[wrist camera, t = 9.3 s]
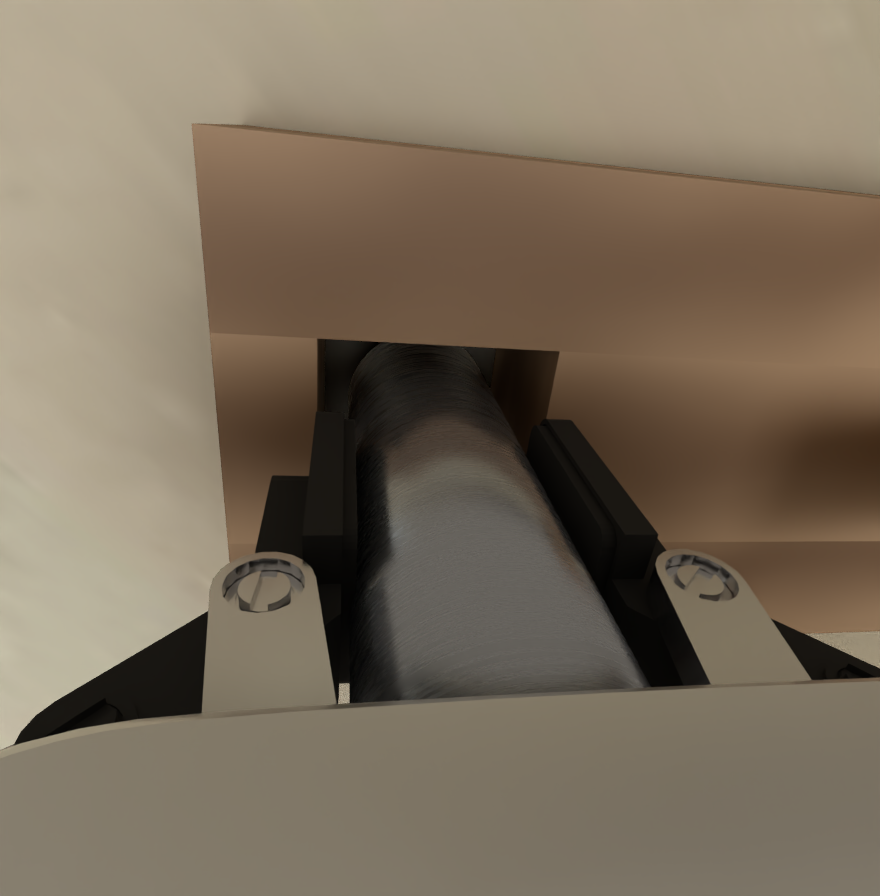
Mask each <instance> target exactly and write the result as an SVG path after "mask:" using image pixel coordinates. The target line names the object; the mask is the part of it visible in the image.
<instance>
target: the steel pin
mask: <svg viewBox="0 0 880 896" xmlns="http://www.w3.org/2000/svg"><path fill="white" fill-rule="evenodd" d="M349 420H355V442H356V481H357V520H358V544H357V571H356V593H355V596H354V599H353V602H352V605H351V611H350V619H349V649H350V703H364V702H382V701H400V700H418V699H436V698H454V697H471V696H489V695H509V694H528V693H548V692H567V691H587V690H607V689H628V688H648V687H651V686H650V684H649V682H648V681H647V679H646V677H645V675H644V673H643V671H642V670H641V668H640V666H639V664H638V662H637V660H636V658H635V657H634V655H633V653H632V651H631V649H630V647H629V645H628V644H627V642H626V640H625V638H624V636H623V634H622V633H621V631H620V629H619V627H618V625H617V623H616V621H615V620H614V618H613V616H612V614H611V612H610V610H609V608H608V607H607V605H606V603H605V601H604V599H603V597H602V596H601V594H600V592H599V590H598V588H597V586H596V584H595V583H594V581H593V579H592V577H591V575H590V573H589V571H588V570H587V568H586V566H585V564H584V562H583V560H582V558H581V557H580V555H579V553H578V551H577V549H576V547H575V546H574V544H573V542H572V540H571V538H570V536H569V534H568V533H567V531H566V529H565V527H564V525H563V523H562V521H561V520H560V518H559V516H558V514H557V512H556V510H555V509H554V507H553V505H552V503H551V501H550V499H549V497H548V496H547V494H546V492H545V490H544V488H543V486H542V484H541V483H540V481H539V479H538V477H537V475H536V473H535V472H534V470H533V468H532V466H531V464H530V462H529V460H528V459H527V457H526V455H525V453H524V451H523V449H522V447H521V446H520V444H519V442H518V440H517V438H516V436H515V435H514V433H513V431H512V429H511V427H510V425H509V423H508V422H507V420H506V418H505V416H504V414H503V412H502V410H501V409H500V407H499V405H498V403H497V401H496V399H495V398H494V396H493V394H492V392H491V390H490V388H489V386H488V385H487V383H486V381H485V379H484V377H483V375H482V373H481V372H480V370H479V368H478V366H477V364H476V362H475V361H474V359H473V358H472V357H471V355H470V354H469V353H468V352H467V351H466V350H465V349H464V348H463V347H461V346H448V345H430V344H411V343H392V342H382V343H380V344H378V345H377V346H375V347H374V348H373V349H371V350H370V351H369V352H368V353H367V354H366V355H365V356H364V358H363V359H362V360H361V361H360V363H359V364H358V366H357V368H356V370H355V371H354V374H353V376H352V379H351V383H350V387H349Z"/></svg>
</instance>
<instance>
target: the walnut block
mask: <svg viewBox="0 0 880 896" xmlns="http://www.w3.org/2000/svg"><path fill="white" fill-rule="evenodd" d="M192 132H193V144H194V155H195V167H196V178H197V190H198V201H199V213H200V225H201V236H202V248H203V259H204V271H205V282H206V294H207V306H208V317H209V329H210V340H211V352H212V363H213V375H214V387H215V398H216V410H217V421H218V433H219V444H220V456H221V468H222V479H223V491H224V502H225V514H226V525H227V537H228V549H229V560H230V562H232V561H234V560H236V559H238V558H241V557H243V556H246V555H250V554H255V550H256V545H257V541H258V536H259V531H260V527H261V522H262V518H263V513H264V508H265V504H266V499H267V494H268V490H269V485H270V481H271V477H272V476H273V475H285V476H309V470H310V461H311V452H312V443H313V434H314V425H315V416H316V412H325V339H335V340H354V341H373V342H392V343H411V344H430V345H448V346H467V347H486V348H496V354H495V361H494V368H493V374H492V381H491V388H490V390H491V392H492V394H493V396H494V398H495V399H496V401H497V403H498V405H499V407H500V409H501V410H502V412H503V414H504V416H505V418H506V420H507V422H508V423H509V425H510V427H511V429H512V431H513V433H514V435H515V436H516V438H517V440H518V442H519V444H520V446H521V447H522V449H523V451H524V453H525V455H526V454H527V448H528V443H529V438H530V433H531V430H532V427H533V426H534V425H537V426H540V423H541V421H542V420H543V419H564V420H571V421H573V423H574V424H575V425H576V427H577V428H578V429H579V430H580V432H581V433H582V434H583V436H584V437H585V438H586V440H587V441H588V442H589V444H590V445H591V446H592V448H593V449H594V450H595V452H596V453H597V454H598V455H599V457H600V458H601V459H602V461H603V462H604V463H605V465H606V466H607V467H608V469H609V470H610V471H611V473H612V474H613V475H614V477H615V478H616V479H617V480H618V482H619V483H620V484H621V486H622V487H623V488H624V490H625V491H626V492H627V494H628V495H629V496H630V498H631V499H632V500H633V501H634V503H635V504H636V505H637V507H638V508H639V509H640V511H641V512H642V513H643V515H644V516H645V517H646V519H647V520H648V521H649V523H650V524H651V525H652V526H653V528H654V529H655V530H656V532H657V533H658V534H659V535H658V540H659V541H660V542H661V544H662V545H663V546H664V548H665V549H666V550H667V551H668V550H672V549H689V550H694V551H699V552H702V553H705V554H708V555H711V556H713V557H715V558H717V559H719V560H721V561H723V562H725V563H727V564H728V565H729V566H731V567H732V568H733V569H735V570H736V571H737V572H738V573H739V574H740V575H741V576H742V578H743V579H744V580H745V581H746V583H747V584H748V586H749V587H750V589H751V590H752V591H753V593H754V594H755V596H756V597H757V599H758V600H759V602H760V603H761V605H762V606H763V608H764V609H765V611H766V612H767V614H768V615H769V617H770V618H771V619H773V620H776V621H778V622H780V623H782V624H784V625H786V626H788V627H791V628H793V629H795V630H797V631H799V632H801V633H804V634H807V633H837V632H867V631H880V195H871V194H862V193H853V192H844V191H835V190H826V189H817V188H808V187H798V186H789V185H780V184H771V183H762V182H753V181H744V180H735V179H726V178H717V177H708V176H699V175H690V174H681V173H672V172H663V171H654V170H644V169H635V168H626V167H617V166H608V165H599V164H590V163H581V162H572V161H563V160H554V159H545V158H536V157H527V156H518V155H509V154H500V153H491V152H481V151H472V150H463V149H454V148H445V147H436V146H427V145H418V144H409V143H400V142H391V141H382V140H373V139H364V138H355V137H346V136H337V135H327V134H318V133H309V132H300V131H291V130H282V129H273V128H264V127H255V126H246V125H225V124H192Z"/></svg>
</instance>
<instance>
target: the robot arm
mask: <svg viewBox="0 0 880 896" xmlns="http://www.w3.org/2000/svg"><path fill="white" fill-rule="evenodd" d="M526 457H527V459H528V460H529V462H530V464H531V466H532V468H533V470H534V472H535V473H536V475H537V477H538V479H539V481H540V483H541V484H542V486H543V488H544V490H545V492H546V494H547V496H548V497H549V499H550V501H551V503H552V505H553V507H554V509H555V510H556V512H557V514H558V516H559V518H560V520H561V521H562V523H563V525H564V527H565V529H566V531H567V533H568V534H569V536H570V538H571V540H572V542H573V544H574V546H575V547H576V549H577V551H578V553H579V555H580V557H581V558H582V560H583V562H584V564H585V566H586V568H587V570H588V571H589V573H590V575H591V577H592V579H593V581H594V583H595V584H596V586H597V588H598V590H599V592H600V594H601V596H602V597H603V599H604V601H605V603H606V605H607V607H608V608H609V610H610V612H611V614H612V616H613V618H614V620H615V621H616V623H617V625H618V627H619V629H620V631H621V633H622V634H623V636H624V638H625V640H626V642H627V644H628V645H629V647H630V649H631V651H632V653H633V655H634V657H635V658H636V660H637V662H638V664H639V666H640V668H641V670H642V671H643V673H644V675H645V677H646V679H647V681H648V682H649V684H650V686H651V687H648V688H628V689H607V690H587V691H567V692H548V693H528V694H509V695H489V696H471V697H454V698H436V699H418V700H400V701H382V702H364V703H347V704H338V700H339V684H340V683H350V649H349V619H350V611H351V605H352V602H353V599H354V596H355V593H356V571H357V544H358V520H357V481H356V442H355V420H344V412H316V416H315V425H314V434H313V443H312V452H311V461H310V470H309V476H285V475H273V476H272V477H271V481H270V485H269V490H268V494H267V499H266V504H265V508H264V513H263V518H262V522H261V527H260V531H259V536H258V541H257V545H256V550H255V554H250V555H246V556H243V557H241V558H238V559H236V560H234V561H232V562H230V563H229V564H228V565H226V566H225V567H223V568H222V569H221V570H220V571H219V572H218V573H217V575H216V576H215V577H214V578H213V581H212V584H211V587H210V593H209V608H208V612H206V613H204V614H202V615H201V616H199V617H197V618H196V619H194V620H192V621H191V622H189V623H187V624H186V625H184V626H182V627H180V628H179V629H177V630H175V631H174V632H172V633H170V634H169V635H167V636H165V637H164V638H162V639H160V640H158V641H157V642H155V643H153V644H152V645H150V646H148V647H147V648H145V649H143V650H142V651H140V652H138V653H136V654H135V655H133V656H131V657H130V658H128V659H126V660H125V661H123V662H121V663H120V664H118V665H116V666H114V667H113V668H111V669H109V670H108V671H106V672H104V673H103V674H101V675H99V676H98V677H96V678H94V679H92V680H91V681H89V682H87V683H86V684H84V685H82V686H81V687H79V688H77V689H76V690H74V691H72V692H70V693H69V694H67V695H65V696H64V697H62V698H60V699H59V700H57V701H55V702H54V703H52V704H51V705H50V706H48V707H47V708H46V709H44V710H43V711H41V712H40V713H39V714H37V715H36V716H35V717H34V718H33V719H32V720H31V721H30V723H29V724H28V725H27V726H26V727H25V728H24V729H23V730H22V731H21V733H20V734H19V736H18V738H17V740H16V742H15V744H13V745H11V746H9V747H6V748H4V749H2V750H0V896H880V669H879V668H877V667H875V666H873V665H871V664H868V663H866V662H864V661H862V660H860V659H857V658H855V657H853V656H851V655H849V654H847V653H845V652H842V651H840V650H838V649H836V648H834V647H832V646H829V645H827V644H825V643H823V642H821V641H819V640H816V639H814V638H812V637H810V636H808V635H806V634H804V633H801V632H799V631H797V630H795V629H793V628H791V627H788V626H786V625H784V624H782V623H780V622H778V621H776V620H773V619H771V618H770V617H769V615H768V614H767V612H766V611H765V609H764V608H763V606H762V605H761V603H760V602H759V600H758V599H757V597H756V596H755V594H754V593H753V591H752V590H751V589H750V587H749V586H748V584H747V583H746V581H745V580H744V579H743V578H742V576H741V575H740V574H739V573H738V572H737V571H736V570H735V569H733V568H732V567H731V566H729V565H728V564H727V563H725V562H723V561H721V560H719V559H717V558H715V557H713V556H711V555H708V554H705V553H702V552H699V551H694V550H689V549H672V550H668V551H667V550H666V549H665V548H664V546H663V545H662V544H661V542H660V541H659V540H658V535H659V534H658V533H657V532H656V530H655V529H654V528H653V526H652V525H651V524H650V523H649V521H648V520H647V519H646V517H645V516H644V515H643V513H642V512H641V511H640V509H639V508H638V507H637V505H636V504H635V503H634V501H633V500H632V499H631V498H630V496H629V495H628V494H627V492H626V491H625V490H624V488H623V487H622V486H621V484H620V483H619V482H618V480H617V479H616V478H615V477H614V475H613V474H612V473H611V471H610V470H609V469H608V467H607V466H606V465H605V463H604V462H603V461H602V459H601V458H600V457H599V455H598V454H597V453H596V452H595V450H594V449H593V448H592V446H591V445H590V444H589V442H588V441H587V440H586V438H585V437H584V436H583V434H582V433H581V432H580V430H579V429H578V428H577V427H576V425H575V424H574V423H573V421H571V420H564V419H543V420H542V421H541V423H540V426H537V425H534V426H533V427H532V430H531V433H530V438H529V443H528V448H527V454H526Z"/></svg>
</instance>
